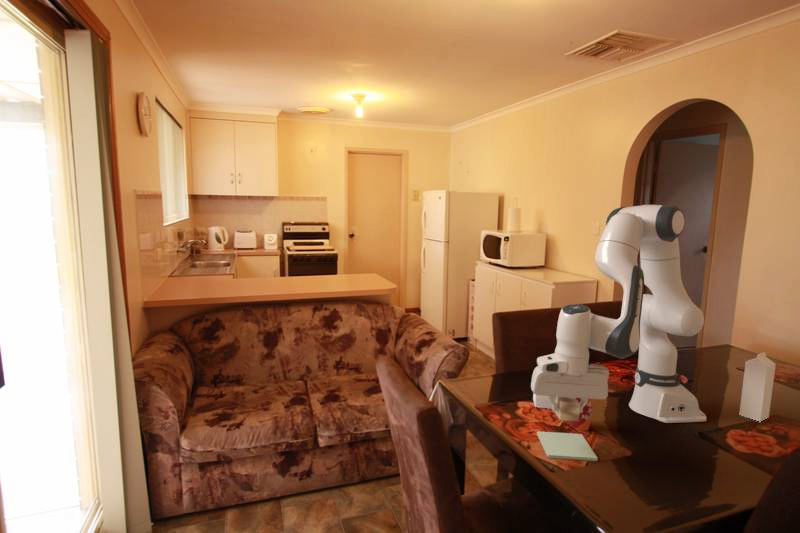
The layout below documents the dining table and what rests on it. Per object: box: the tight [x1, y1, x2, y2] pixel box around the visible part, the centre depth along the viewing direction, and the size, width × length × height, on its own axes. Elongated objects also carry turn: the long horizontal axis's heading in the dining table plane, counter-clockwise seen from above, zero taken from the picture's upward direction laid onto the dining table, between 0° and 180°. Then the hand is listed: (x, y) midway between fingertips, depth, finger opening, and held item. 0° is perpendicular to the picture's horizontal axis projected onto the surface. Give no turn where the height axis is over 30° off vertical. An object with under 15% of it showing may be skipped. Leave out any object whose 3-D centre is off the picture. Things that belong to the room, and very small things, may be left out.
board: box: [536, 431, 599, 462], centre depth 124 cm, size 13×13×1 cm
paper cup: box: [569, 398, 594, 432], centre depth 136 cm, size 8×8×14 cm
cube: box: [554, 396, 580, 422], centre depth 123 cm, size 5×5×5 cm
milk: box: [738, 351, 777, 423], centre depth 145 cm, size 6×6×22 cm
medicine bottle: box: [532, 392, 556, 410], centre depth 151 cm, size 7×7×12 cm
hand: (566, 411), depth 123 cm, fingers closed on cube, 5 cm apart
